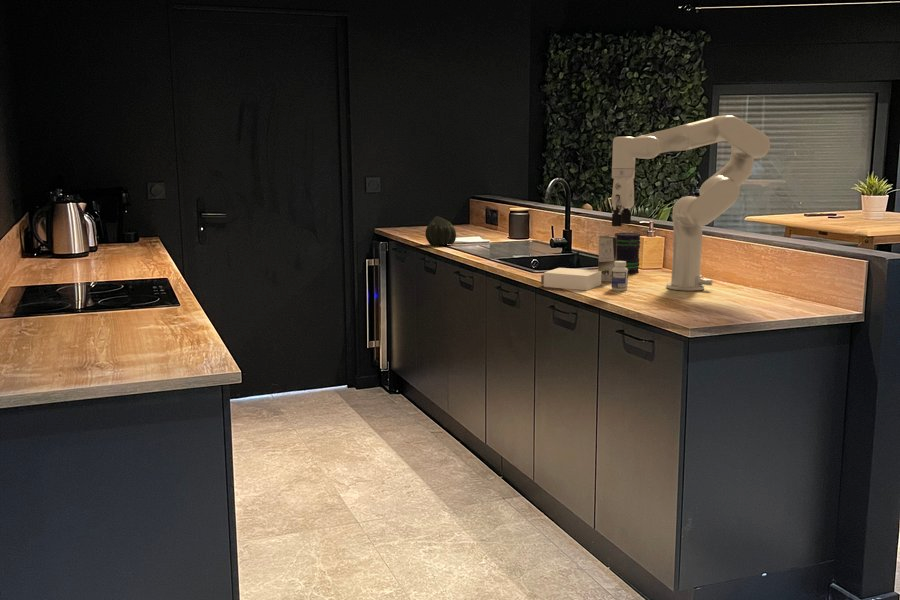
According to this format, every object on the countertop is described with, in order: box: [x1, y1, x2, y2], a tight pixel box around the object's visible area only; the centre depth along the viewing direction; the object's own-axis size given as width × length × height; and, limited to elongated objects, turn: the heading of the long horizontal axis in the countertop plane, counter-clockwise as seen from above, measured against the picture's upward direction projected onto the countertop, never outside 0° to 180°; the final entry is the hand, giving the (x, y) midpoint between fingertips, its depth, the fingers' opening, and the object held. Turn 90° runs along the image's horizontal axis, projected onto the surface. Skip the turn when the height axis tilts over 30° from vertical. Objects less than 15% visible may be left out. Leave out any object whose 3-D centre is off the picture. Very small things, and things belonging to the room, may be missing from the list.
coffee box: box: [597, 234, 617, 283], centre depth 316 cm, size 9×6×16 cm
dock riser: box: [540, 267, 602, 291], centre depth 304 cm, size 17×14×5 cm
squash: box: [424, 215, 457, 247], centre depth 426 cm, size 14×15×15 cm
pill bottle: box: [610, 261, 629, 292], centre depth 295 cm, size 5×5×10 cm
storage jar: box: [614, 232, 641, 275], centre depth 336 cm, size 10×10×15 cm
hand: (621, 225), depth 292 cm, fingers open, 9 cm apart
